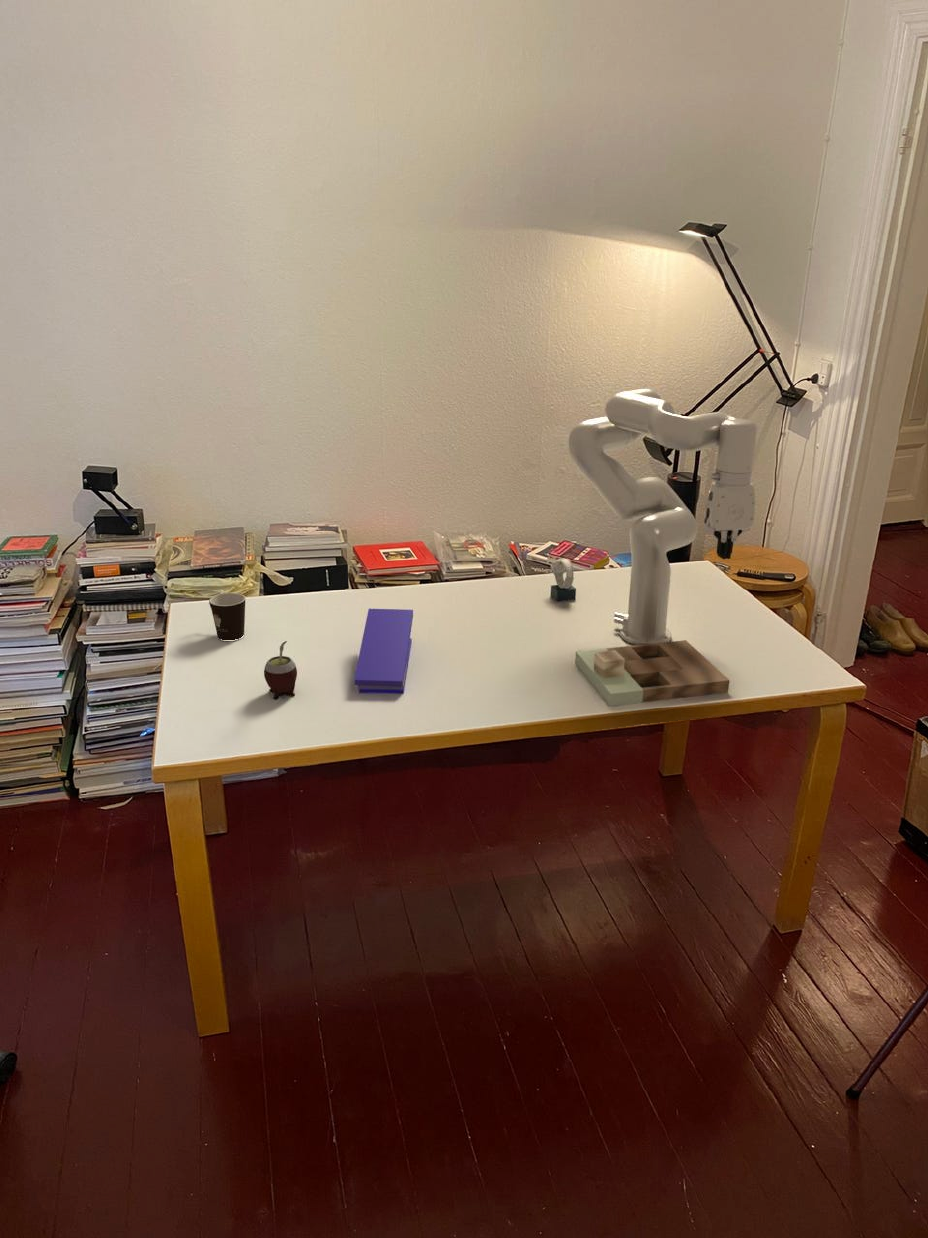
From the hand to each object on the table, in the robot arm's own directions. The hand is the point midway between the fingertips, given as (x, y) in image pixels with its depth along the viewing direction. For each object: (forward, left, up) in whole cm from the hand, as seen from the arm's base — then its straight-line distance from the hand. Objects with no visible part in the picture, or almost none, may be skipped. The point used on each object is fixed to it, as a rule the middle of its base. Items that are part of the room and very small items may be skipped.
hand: (723, 557), depth 223 cm
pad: (-16, -22, -27) cm, 38 cm away
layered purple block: (-61, -46, -28) cm, 81 cm away
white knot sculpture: (-50, +16, -27) cm, 59 cm away
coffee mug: (-104, -55, -27) cm, 121 cm away
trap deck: (-7, -11, -27) cm, 30 cm away
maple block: (-15, -23, -24) cm, 36 cm away
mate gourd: (-70, -70, -27) cm, 103 cm away
